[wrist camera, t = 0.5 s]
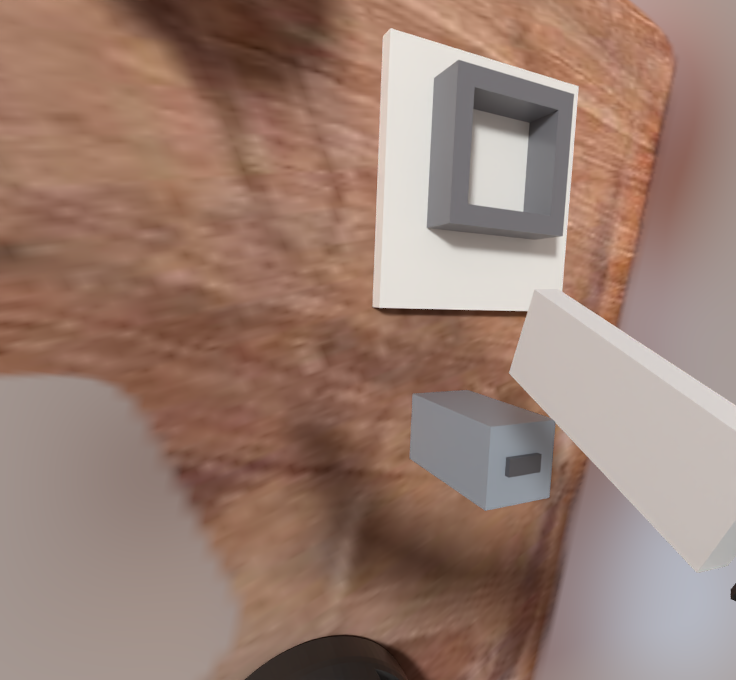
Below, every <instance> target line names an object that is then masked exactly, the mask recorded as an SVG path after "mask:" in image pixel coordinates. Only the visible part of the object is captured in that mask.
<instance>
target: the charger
mask: <svg viewBox="0 0 736 680" xmlns="http://www.w3.org/2000/svg"><path fill="white" fill-rule="evenodd" d="M554 433H555V421H554V420H553V419H552V418H549V417H546V416H543V415H540V414H537V413H534V412H531V411H528V410H525V409H522V408H519V407H516V406H513V405H510V404H507V403H504V402H501V401H498V400H496V399H493V398H490V397H487V396H484V395H481V394H478V393H475V392H472V391H469V390H461V391H446V392H431V393H416V394H413V399H412V420H411V440H410V459H411V460H413V461H414V462H416V463H417V464H418V465H420V466H421V467H423V468H424V469H426V470H427V471H429V472H430V473H431V474H433V475H434V476H436V477H437V478H439V479H440V480H442V481H443V482H445V483H446V484H447V485H449V486H450V487H452V488H453V489H455V490H456V491H458V492H459V493H460V494H462V495H463V496H465V497H466V498H468V499H469V500H471V501H472V502H474V503H475V504H476V505H478V506H479V507H481V508H482V509H484V510H485V511H486V510H491V509H496V508H501V507H506V506H511V505H516V504H520V503H525V502H530V501H535V500H540V499H545V498H549V496H550V484H551V471H552V458H553V446H554Z"/></svg>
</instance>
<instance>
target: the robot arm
mask: <svg viewBox="0 0 736 680" xmlns="http://www.w3.org/2000/svg"><path fill="white" fill-rule="evenodd" d="M509 374H510V375H511V376H512V377H513V378H514V379H515V380H516V381H517V382H518V383H519V384H520V385H521V386H522V387H523V389H524V390H525V391H526V392H527V393H528V394H529V395H530V396H531V397H532V398H533V399H534V400H535V401H536V402H537V403H538V404H539V406H540V407H541V408H542V409H543V410H544V411H545V412H546V413H547V414H548V415H549V416H550V417H551V418H552V419H553V420H554V421H555V423H556V424H557V425H558V426H559V427H560V428H561V429H562V430H563V431H564V432H565V433H566V434H567V435H568V436H569V437H570V438H571V440H572V441H573V442H574V443H575V444H576V445H577V446H578V447H579V448H580V449H581V450H582V451H583V452H584V453H585V454H586V455H587V457H588V458H589V459H590V460H591V461H592V462H593V463H594V464H595V465H596V466H597V467H598V468H599V469H600V470H601V471H602V472H603V474H604V475H606V477H607V478H608V479H609V480H610V481H611V482H612V483H613V484H614V485H615V486H616V487H617V488H618V489H619V490H620V491H621V492H622V494H623V495H624V496H625V497H626V498H627V499H628V500H629V501H630V502H631V503H632V504H633V505H634V506H635V507H636V508H637V509H638V511H639V512H640V513H641V514H642V515H643V516H644V517H645V518H646V519H647V520H648V521H649V522H650V523H651V524H652V526H654V528H655V529H656V530H657V531H658V532H659V533H660V534H661V535H662V536H663V537H664V538H665V539H666V540H667V541H668V543H669V544H670V545H671V546H672V547H673V548H674V549H675V550H676V551H677V552H678V553H679V554H680V555H681V556H682V557H683V558H684V560H685V561H687V563H688V564H689V565H690V566H691V567H692V568H693V569H694V570H695V571H696V572H697V573H699V572H703V571H708V570H712V569H716V568H720V567H725V566H728V565H729V564H730V562H731V561H732V560H733V559H734V557H735V556H736V405H734V404H733V403H731V402H730V401H728V400H726V399H725V398H724V397H722V396H721V395H719V394H717V393H716V392H714V391H713V390H711V389H710V388H708V387H707V386H705V385H704V384H702V383H701V382H699V381H698V380H696V379H694V378H693V377H692V376H690V375H688V374H687V373H685V372H684V371H682V370H681V369H679V368H678V367H676V366H675V365H673V364H672V363H670V362H669V361H667V360H665V359H664V358H662V357H661V356H659V355H658V354H656V353H655V352H653V351H652V350H650V349H649V348H647V347H646V346H644V345H642V344H641V343H639V342H638V341H636V340H635V339H633V338H632V337H630V336H629V335H627V334H626V333H624V332H623V331H621V330H620V329H618V328H617V327H615V326H614V325H612V324H610V323H609V322H607V321H606V320H604V319H603V318H601V317H600V316H598V315H597V314H595V313H594V312H592V311H591V310H589V309H588V308H586V307H584V306H583V305H581V304H580V303H578V302H577V301H575V300H574V299H572V298H571V297H569V296H568V295H566V294H565V293H563V292H562V291H560V290H558V289H534V293H533V296H532V299H531V303H530V306H529V309H528V312H527V316H526V319H525V322H524V326H523V329H522V332H521V335H520V339H519V342H518V345H517V349H516V352H515V355H514V358H513V362H512V365H511V368H510V372H509ZM731 599H732V600H734V601H736V584H735V585H734V586H733V588H732V589H731ZM245 680H409V679H408V678H407V676H406V675H405V673H404V671H403V670H402V668H401V667H400V665H399V664H398V662H397V661H396V659H395V658H394V657H393V656H392V655H391V654H390V653H389V652H388V651H387V650H386V649H384V648H383V647H381V646H380V645H378V644H376V643H374V642H372V641H369V640H366V639H363V638H358V637H351V636H335V637H327V638H322V639H317V640H313V641H310V642H307V643H304V644H301V645H299V646H296V647H294V648H292V649H290V650H288V651H286V652H284V653H282V654H280V655H278V656H276V657H275V658H273V659H272V660H270V661H268V662H267V663H266V664H264V665H263V666H261V667H260V668H259V669H257V670H256V671H255V672H253V673H252V674H251V675H250V676H249V677H248V678H246V679H245Z"/></svg>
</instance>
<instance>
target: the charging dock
mask: <svg viewBox="0 0 736 680" xmlns="http://www.w3.org/2000/svg"><path fill="white" fill-rule="evenodd" d="M578 87H579V86H576V85H572V84H569V83H566V82H563V81H559V80H556V79H553V78H550V77H547V76H543V75H540V74H537V73H534V72H530V71H527V70H524V69H521V68H517V67H514V66H511V65H508V64H505V63H501V62H498V61H495V60H492V59H488V58H485V57H482V56H479V55H475V54H472V53H469V52H466V51H462V50H459V49H456V48H453V47H450V46H446V45H443V44H440V43H437V42H433V41H430V40H427V39H424V38H420V37H417V36H414V35H411V34H408V33H404V32H401V31H398V30H395V29H391V28H390V29H389V31H388V32H387V33H386V34H385V35H384V36H383V46H382V72H381V99H380V125H379V151H378V177H377V204H376V230H375V256H374V282H373V307H377V308H410V309H454V310H498V311H528V309H529V306H530V303H531V299H532V296H533V293H534V289H558V290H560V291H562V286H563V274H564V261H565V249H566V236H567V224H568V211H569V199H570V187H571V174H572V162H573V149H574V137H575V124H576V112H577V100H578Z"/></svg>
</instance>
